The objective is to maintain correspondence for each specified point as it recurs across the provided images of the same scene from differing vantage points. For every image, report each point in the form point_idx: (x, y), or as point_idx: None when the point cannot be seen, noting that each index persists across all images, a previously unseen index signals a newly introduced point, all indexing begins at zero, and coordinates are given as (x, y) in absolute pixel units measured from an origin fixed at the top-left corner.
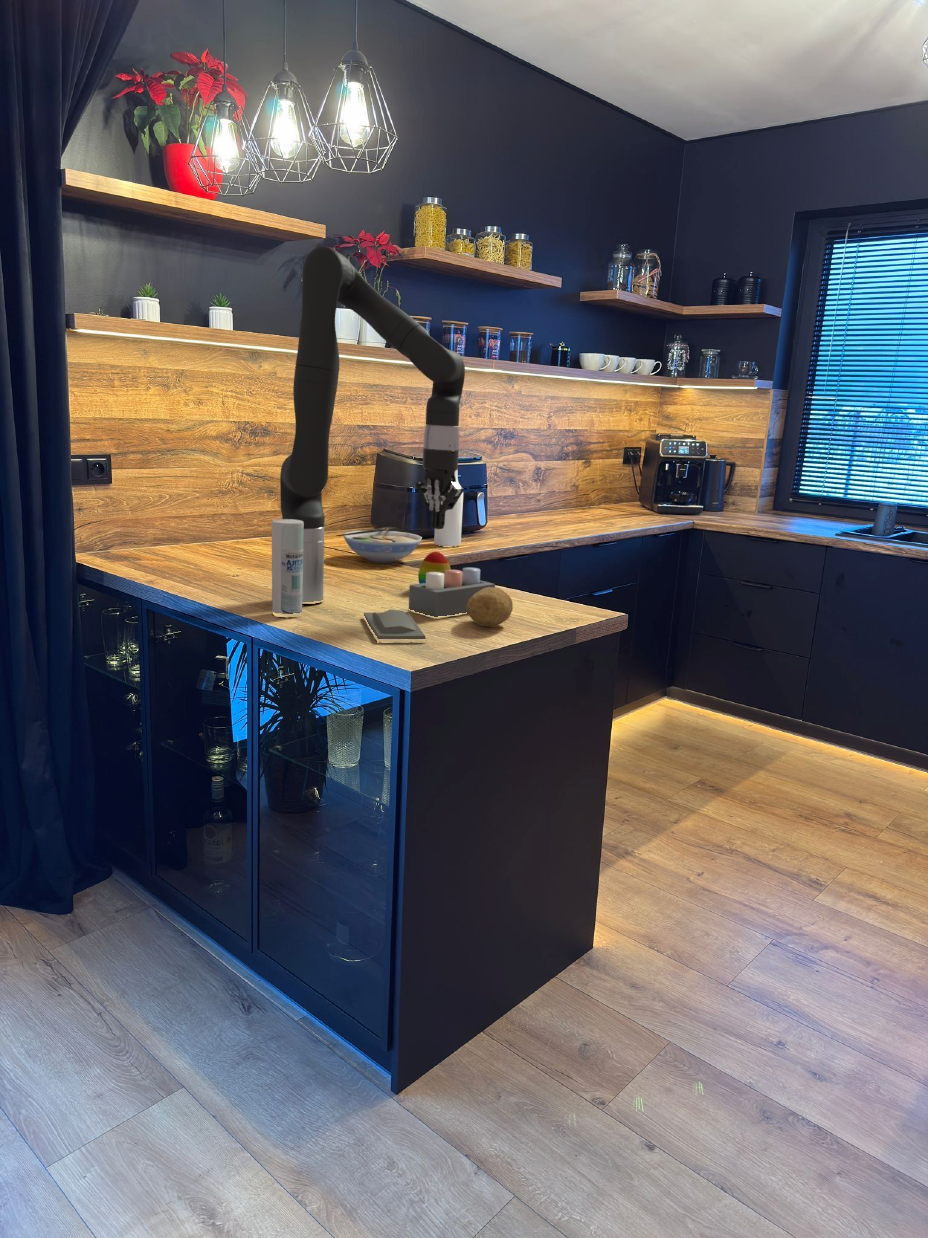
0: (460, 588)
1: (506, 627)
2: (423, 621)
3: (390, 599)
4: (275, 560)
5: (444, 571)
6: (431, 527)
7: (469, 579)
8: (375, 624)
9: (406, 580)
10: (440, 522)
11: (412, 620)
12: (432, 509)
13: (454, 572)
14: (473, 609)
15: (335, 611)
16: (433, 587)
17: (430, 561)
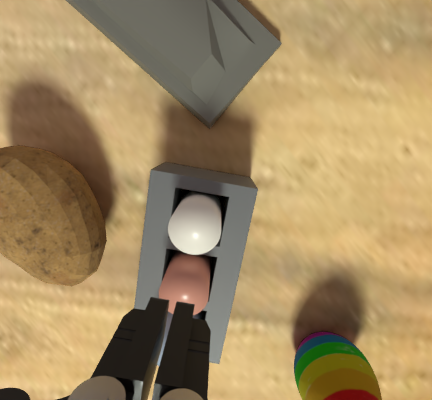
0: (145, 252)
1: None
2: (172, 130)
3: (345, 234)
4: None
5: (305, 384)
6: (194, 304)
7: (167, 317)
8: None
9: (422, 386)
10: (119, 329)
11: (149, 64)
12: (165, 398)
13: (171, 283)
14: (30, 147)
15: (369, 49)
16: (185, 199)
17: (348, 392)
